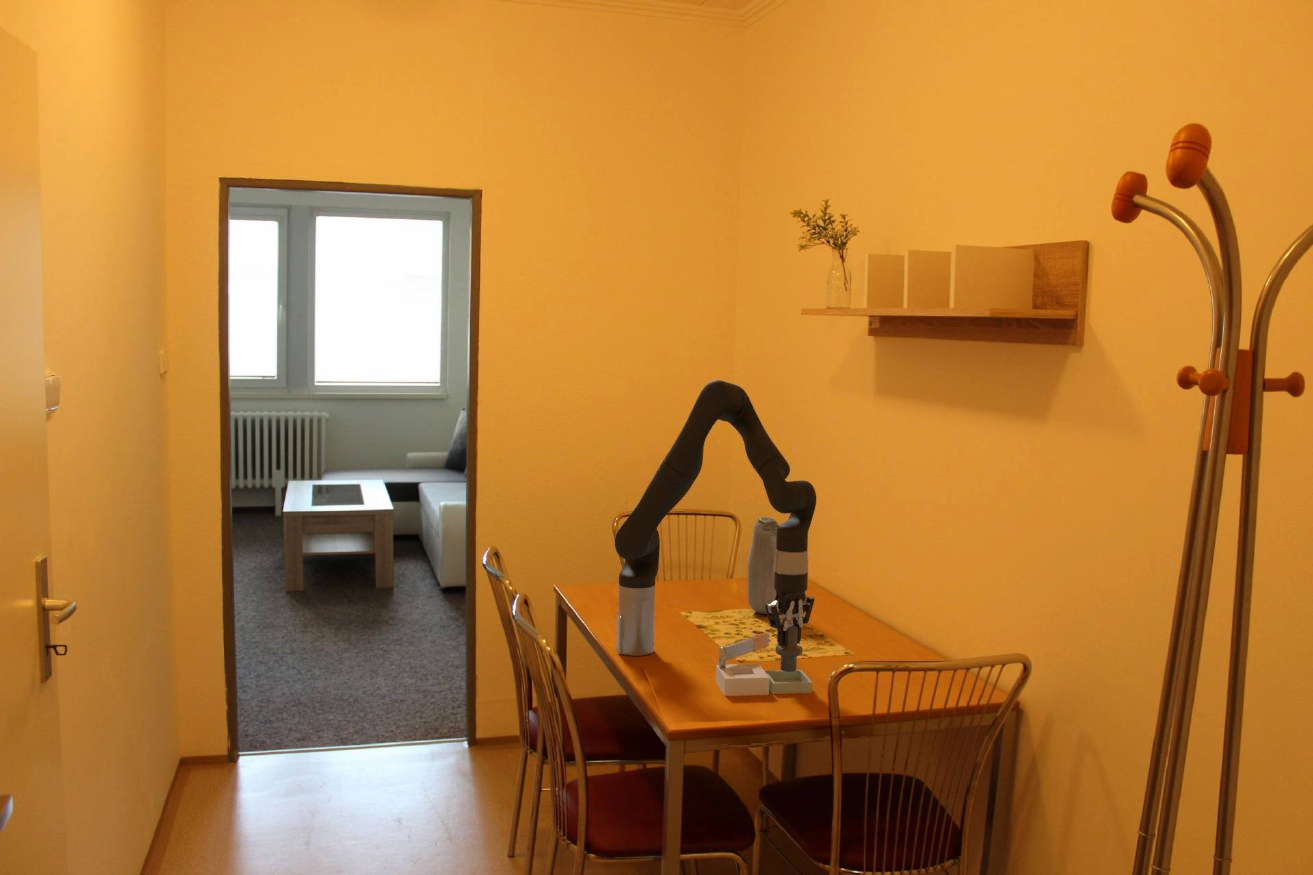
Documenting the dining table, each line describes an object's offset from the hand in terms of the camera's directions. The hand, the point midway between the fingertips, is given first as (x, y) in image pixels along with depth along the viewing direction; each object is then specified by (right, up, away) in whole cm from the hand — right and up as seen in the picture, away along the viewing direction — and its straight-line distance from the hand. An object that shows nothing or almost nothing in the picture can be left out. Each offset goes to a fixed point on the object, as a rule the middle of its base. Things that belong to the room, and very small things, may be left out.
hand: (789, 644), depth 241 cm
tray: (0, -10, +1) cm, 10 cm away
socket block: (-11, -11, -1) cm, 15 cm away
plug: (0, -6, +1) cm, 6 cm away
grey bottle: (+1, -5, +70) cm, 70 cm away
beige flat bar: (-10, -5, +7) cm, 13 cm away
